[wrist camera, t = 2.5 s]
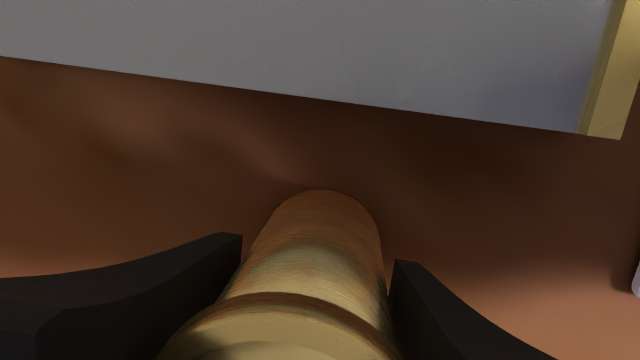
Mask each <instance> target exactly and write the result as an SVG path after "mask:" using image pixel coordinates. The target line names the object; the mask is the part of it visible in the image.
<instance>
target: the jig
mask: <svg viewBox="0 0 640 360" xmlns="http://www.w3.org/2000/svg"><path fill="white" fill-rule="evenodd" d="M0 56H6V57H13V58H21V59H28V60H36V61H43V62H51V63H58V64H65V65H73V66H80V67H88V68H95V69H102V70H110V71H117V72H125V73H132V74H140V75H147V76H154V77H162V78H169V79H177V80H184V81H191V82H199V83H206V84H214V85H221V86H229V87H236V88H243V89H251V90H258V91H266V92H273V93H280V94H288V95H295V96H303V97H310V98H318V99H325V100H332V101H340V102H347V103H355V104H362V105H369V106H377V107H384V108H392V109H399V110H407V111H414V112H421V113H429V114H436V115H444V116H451V117H458V118H466V119H473V120H481V121H488V122H496V123H503V124H510V125H518V126H525V127H533V128H540V129H547V130H555V131H562V132H570V133H577V134H583V135H587V136H594V137H602V138H609V139H617V140H620V139H621V136H622V133H623V130H624V127H625V123H626V120H627V117H628V114H629V111H630V108H631V105H632V101H633V98H634V95H635V92H636V89H637V86H638V83H639V80H640V0H0Z"/></svg>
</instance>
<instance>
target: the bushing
mask: <svg viewBox="0 0 640 360" xmlns="http://www.w3.org/2000/svg"><path fill="white" fill-rule="evenodd" d="M155 360H404V359H403V358H402V357H401V355H400V354H399V352H398V351H397V349H396V348H395V347H394V340H393V333H392V326H391V318H390V311H389V303H388V296H387V288H386V281H385V274H384V266H383V259H382V251H381V244H380V237H379V232H378V229H377V226H376V224H375V222H374V220H373V218H372V217H371V215H370V214H369V212H368V211H367V210H366V209H365V208H364V207H363V206H362V205H361V204H360V203H359V202H357V201H356V200H354V199H353V198H351V197H349V196H347V195H345V194H343V193H340V192H337V191H333V190H326V189H313V190H307V191H304V192H300V193H298V194H295V195H293V196H291V197H290V198H288V199H287V200H285V201H284V202H283V203H282V204H280V205H279V206H278V208H277V209H276V210H275V211H274V213H273V214H272V216H271V217H270V219H269V220H268V222H267V223H266V225H265V226H264V228H263V229H262V231H261V232H260V234H259V236H258V237H257V239H256V240H255V242H254V243H253V245H252V246H251V248H250V249H249V251H248V253H247V254H246V256H245V257H244V259H243V260H242V262H241V263H240V265H239V266H238V268H237V270H236V271H235V273H234V274H233V276H232V277H231V279H230V280H229V282H228V283H227V285H226V286H225V288H224V290H223V291H222V293H221V294H220V296H219V297H218V299H217V300H216V302H215V303H214V304H212V305H210V306H208V307H206V308H205V309H203V310H201V311H200V312H198V313H196V314H195V315H194V316H192V317H191V318H190V319H189V320H187V321H186V322H185V323H184V324H183V325H182V326H181V327H180V328H179V329H178V330H177V331H176V332H175V333H174V334H173V336H172V337H171V338H170V340H169V341H168V342H167V344H166V345H165V346H164V348H163V349H162V350H161V352H160V353H159V355H158V356H157V357H156V359H155Z"/></svg>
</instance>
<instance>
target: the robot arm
mask: <svg viewBox="0 0 640 360" xmlns="http://www.w3.org/2000/svg"><path fill="white" fill-rule="evenodd" d="M242 237H243V235H238V234H232V233H226V232H219V233H215V234H212V235H209V236H206V237H203V238H200V239H198V240H195V241H192V242H189V243H187V244H184V245H181V246H178V247H176V248H173V249H169V250H166V251H163V252H160V253H157V254H154V255H151V256H147V257H144V258H141V259H137V260H133V261H129V262H125V263H121V264H116V265H112V266H107V267H102V268H96V269H89V270H82V271H75V272H68V273H62V274H52V275H41V276H29V277H12V278H0V360H155V359H156V357H157V356H158V355H159V353H160V352H161V350H162V349H163V348H164V346H165V345H166V344H167V342H168V341H169V340H170V338H171V337H172V336H173V334H174V333H175V332H176V331H177V330H178V329H179V328H180V327H181V326H182V325H183V324H184V323H185V322H186V321H187V320H189V319H190V318H191V317H192V316H194V315H195V314H196V313H198V312H200V311H201V310H203V309H205V308H206V307H208V306H210V305H212V304H214V303H215V302H216V300H217V299H218V297H219V296H220V294H221V293H222V291H223V290H224V288H225V286H226V285H227V283H228V282H229V280H230V279H231V277H232V276H233V274H234V273H235V271H236V270H237V268H238V266H239V265H240V261H241V249H242ZM632 291H633V293H634V294H635V295H636V296H637V297H638V298H639V299H640V262H639V265H638V268H637V271H636V273H635V276H634V279H633V282H632ZM388 303H389V311H390V318H391V326H392V333H393V340H394V347H395V348H396V349H397V351H398V352H399V354H400V355H401V357H402V358H403V359H404V360H558V359H556V358H554V357H552V356H550V355H548V354H546V353H544V352H542V351H540V350H538V349H536V348H534V347H532V346H530V345H528V344H527V343H525V342H523V341H521V340H520V339H518V338H516V337H514V336H513V335H511V334H509V333H508V332H506V331H505V330H503V329H502V328H500V327H498V326H497V325H495V324H494V323H492V322H491V321H489V320H488V319H486V318H485V317H483V316H482V315H480V314H479V313H478V312H477V311H475V310H474V309H473V308H471V307H470V306H469V305H467V304H466V303H465V302H463V301H462V300H461V299H460V298H458V297H457V296H456V295H455V294H454V293H452V292H451V291H450V290H449V289H448V288H447V287H445V286H444V285H443V284H442V283H441V282H440V281H439V280H438V279H436V278H435V277H434V276H433V275H432V274H431V273H430V272H429V271H427V270H426V269H425V268H424V267H423V266H421V265H420V264H418V263H416V262H410V261H404V260H397V259H395V264H394V269H393V274H392V279H391V285H390V290H389V295H388Z"/></svg>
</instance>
